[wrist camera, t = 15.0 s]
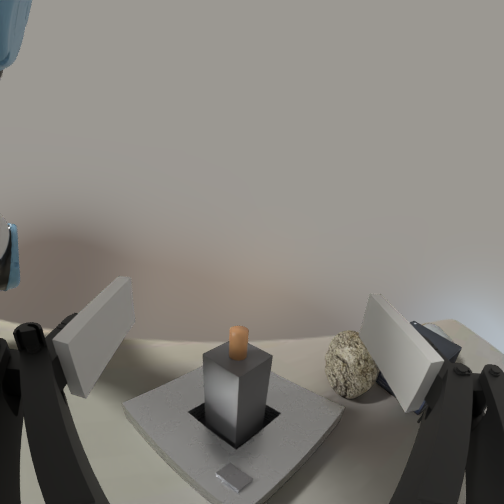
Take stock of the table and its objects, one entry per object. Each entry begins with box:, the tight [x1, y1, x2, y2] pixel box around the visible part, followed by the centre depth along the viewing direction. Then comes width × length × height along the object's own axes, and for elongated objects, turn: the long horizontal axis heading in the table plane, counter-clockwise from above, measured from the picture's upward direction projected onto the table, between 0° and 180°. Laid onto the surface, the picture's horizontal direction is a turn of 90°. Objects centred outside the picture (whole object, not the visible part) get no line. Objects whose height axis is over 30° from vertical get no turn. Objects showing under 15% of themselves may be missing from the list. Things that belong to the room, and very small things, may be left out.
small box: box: [376, 321, 462, 415], centre depth 35 cm, size 11×6×10 cm, turn 25°
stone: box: [325, 330, 377, 399], centre depth 37 cm, size 6×10×10 cm, turn 4°
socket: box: [122, 366, 345, 504], centre depth 30 cm, size 20×20×4 cm
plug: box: [203, 326, 273, 448], centre depth 28 cm, size 5×5×15 cm
